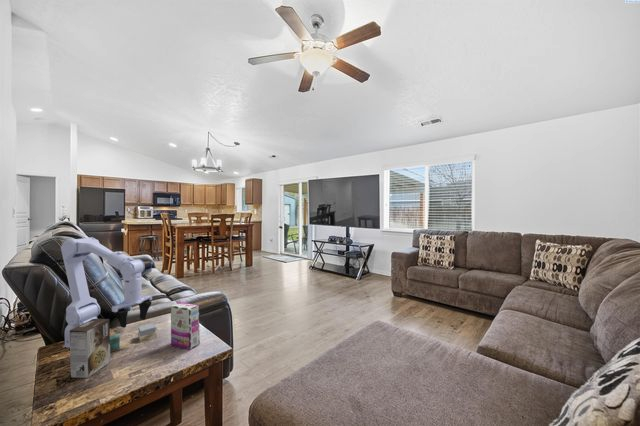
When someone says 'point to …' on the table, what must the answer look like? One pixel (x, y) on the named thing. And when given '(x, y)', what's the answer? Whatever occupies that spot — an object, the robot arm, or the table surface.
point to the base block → (147, 337)
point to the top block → (147, 329)
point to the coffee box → (89, 347)
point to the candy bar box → (185, 325)
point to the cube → (114, 342)
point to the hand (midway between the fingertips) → (133, 322)
